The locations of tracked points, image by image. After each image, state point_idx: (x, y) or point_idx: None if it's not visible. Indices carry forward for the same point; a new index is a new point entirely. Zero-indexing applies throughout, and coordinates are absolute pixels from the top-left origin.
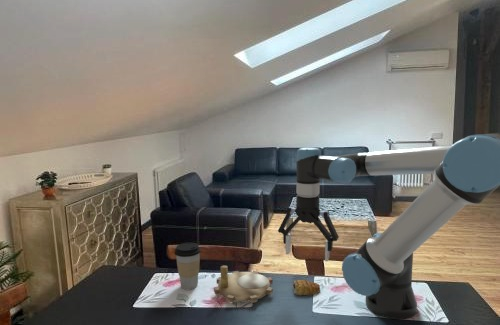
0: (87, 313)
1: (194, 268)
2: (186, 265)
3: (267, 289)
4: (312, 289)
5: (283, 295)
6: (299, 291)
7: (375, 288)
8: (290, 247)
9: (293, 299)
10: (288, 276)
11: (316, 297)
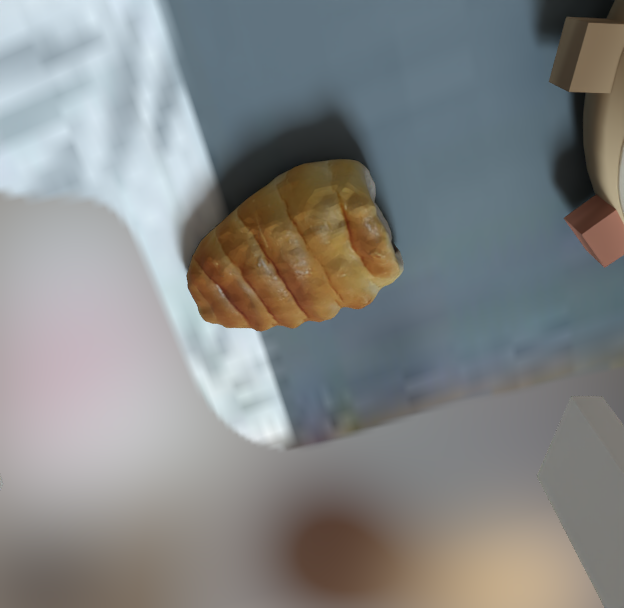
0: None
1: None
2: None
3: (619, 35)
4: (228, 232)
5: (448, 110)
6: (325, 170)
7: None
8: (566, 526)
9: (354, 77)
10: (456, 379)
11: (185, 180)
